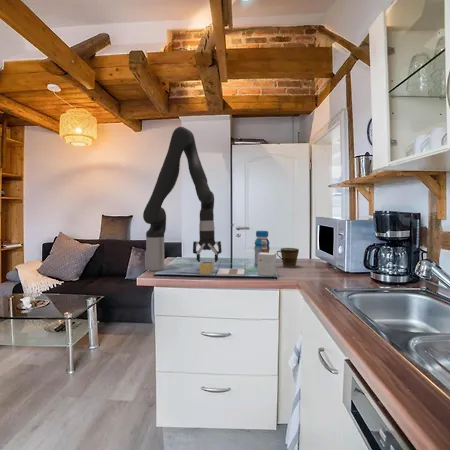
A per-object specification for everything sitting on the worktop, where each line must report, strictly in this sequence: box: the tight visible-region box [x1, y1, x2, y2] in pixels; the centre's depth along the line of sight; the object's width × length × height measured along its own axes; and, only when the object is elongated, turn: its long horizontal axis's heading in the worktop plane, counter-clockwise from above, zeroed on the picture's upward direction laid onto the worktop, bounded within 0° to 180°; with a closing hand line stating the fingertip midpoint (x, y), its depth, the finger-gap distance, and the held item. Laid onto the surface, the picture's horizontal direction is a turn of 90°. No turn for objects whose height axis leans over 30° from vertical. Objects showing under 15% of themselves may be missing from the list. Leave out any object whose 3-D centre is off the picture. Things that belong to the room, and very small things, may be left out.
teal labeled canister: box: [253, 230, 271, 269], centre depth 166 cm, size 8×8×20 cm
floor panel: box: [216, 268, 246, 277], centre depth 150 cm, size 13×12×1 cm
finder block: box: [199, 260, 215, 275], centre depth 151 cm, size 5×9×5 cm, turn 165°
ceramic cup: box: [276, 247, 300, 269], centre depth 167 cm, size 13×10×10 cm
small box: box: [257, 252, 277, 277], centre depth 146 cm, size 8×6×10 cm
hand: (207, 261), depth 151 cm, fingers open, 8 cm apart
